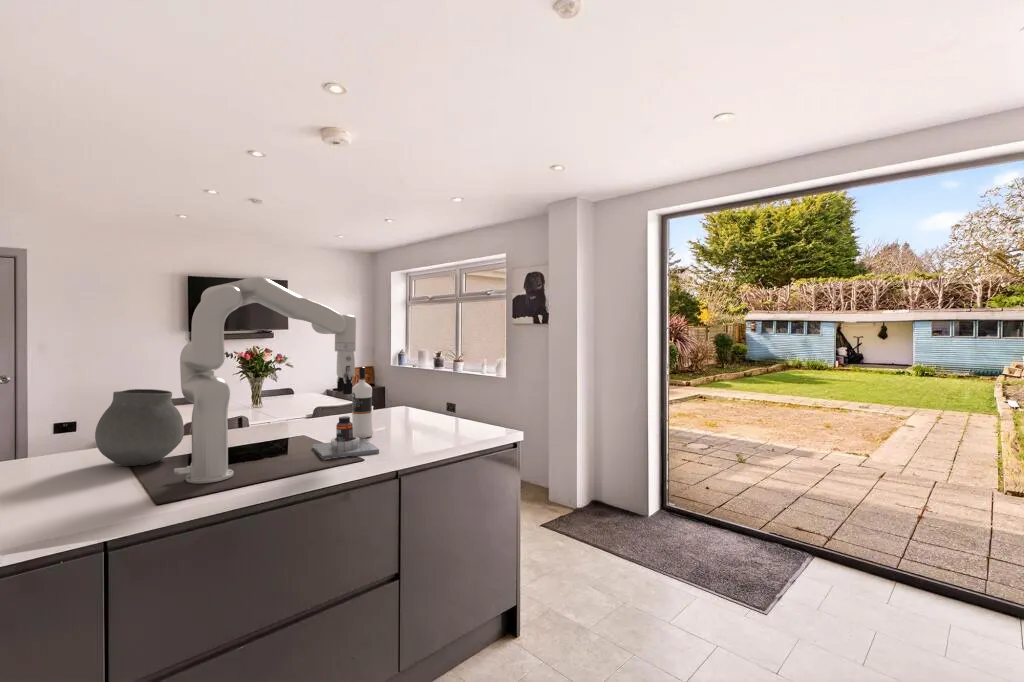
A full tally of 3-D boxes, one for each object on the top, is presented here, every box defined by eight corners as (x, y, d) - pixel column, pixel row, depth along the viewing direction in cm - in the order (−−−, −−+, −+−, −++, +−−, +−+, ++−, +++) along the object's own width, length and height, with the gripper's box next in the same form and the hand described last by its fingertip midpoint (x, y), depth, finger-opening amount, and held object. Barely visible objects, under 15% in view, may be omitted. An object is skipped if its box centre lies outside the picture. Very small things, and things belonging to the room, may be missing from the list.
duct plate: (322, 460, 176) (322, 447, 176) (312, 448, 194) (312, 436, 193) (379, 453, 187) (379, 441, 187) (364, 442, 204) (364, 431, 204)
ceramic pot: (182, 466, 166) (181, 392, 166) (87, 477, 154) (86, 396, 153) (185, 451, 187) (185, 384, 187) (103, 459, 175) (102, 387, 174)
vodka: (375, 437, 214) (376, 367, 213) (354, 439, 209) (354, 368, 208) (369, 433, 222) (369, 365, 221) (348, 435, 217) (348, 366, 216)
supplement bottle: (353, 444, 194) (353, 415, 193) (351, 448, 188) (351, 418, 187) (337, 445, 192) (337, 415, 192) (335, 448, 187) (335, 418, 186)
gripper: (361, 348, 184) (360, 394, 184) (349, 346, 198) (349, 389, 199) (340, 348, 180) (339, 395, 180) (330, 346, 195) (329, 390, 195)
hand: (344, 392), depth 189 cm, fingers open, 9 cm apart
